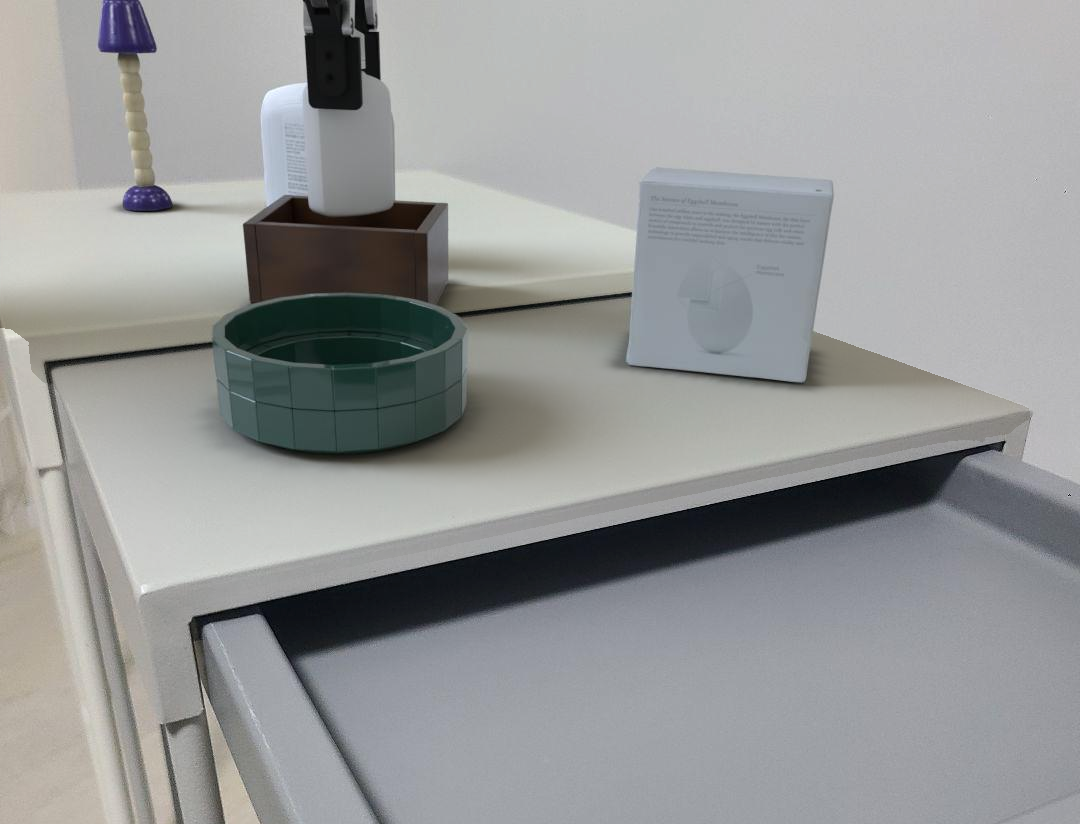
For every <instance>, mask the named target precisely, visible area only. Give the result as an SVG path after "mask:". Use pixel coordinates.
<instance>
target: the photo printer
mask: <svg viewBox="0 0 1080 824" xmlns="http://www.w3.org/2000/svg"><path fill="white" fill-rule="evenodd" d="M306 85H307V82H298V83H291V84H286V85H283V86H279V87H276V88H273V89H271V90H269V91H267V92H266V94H265V95H264V98H263V100H262V103H261V109H260V132H261V146H262V161H263V171H264V172H263V175H264V186H265V187H264V189H265V204H266V207H268V206H269V205H271V204H272V203H273V202H275V201H276V200H278V199H279V198H281V197H282V196H283V195H294V196H295V195H299V196H308V186H307V170H306V155H305V138H304V121H303V91H304V88H305V87H306ZM393 115H394V114H393V112H392V111H391V120H392V151H393V186H394V200H396V149H395V147H396V145H395V144H396V143H395V142H396V141H395V140H396V139H395V122H394V121H395V120H394V116H393ZM266 207H265V208H266Z"/></svg>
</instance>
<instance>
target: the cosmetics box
mask: <svg viewBox="0 0 1080 824" xmlns="http://www.w3.org/2000/svg"><path fill="white" fill-rule="evenodd" d="M638 187H639V188H638V209H637V210H638V212H637V224H636V225H637V226H636V238H635V251H634V265H633V278H632V292H631V305H630V316H629V317H630V319H629V335H628V336H629V338H628V345H627V347H626V348H627V349H626V355H625V356H626V358H625V362H626V363H627V365H629V366H634V367H635V366H636V367H645V368H647V367H649V368H657V369H658V368H659V369H667V370H668V369H670V370H678V371H688V372H698V373H706V374H716V375H726V376H738V377H747V378H756V379H757V378H759V379H765V380H766V379H767V380H775V381H783V382H791V383H804V382H805V381H806V379H807V374H808V373H807V372H808V365H809V358H810V353H811V345H812V340H813V333H814V327H815V320H816V314H817V306H818V301H819V295H820V289H821V282H822V276H823V269H824V262H825V257H826V251H827V250H826V249H827V243H828V235H829V229H830V223H831V216H832V209H833V204H834V198H835V191H834V181H833V180H832V179H823V178H811V177H810V178H809V177H808V178H807V177H794V176H780V175H768V174H767V175H766V174H754V173H753V174H752V173H737V172H726V171H725V172H724V171H711V170H710V171H709V170H697V169H696V170H695V169H683V168H672V167H671V168H670V167H654V168H652V169H651V170H650V171H649V172H648V173H647V174H646V175H645V176H644V177H643V178H642V179H641V180H640V181H639V183H638Z"/></svg>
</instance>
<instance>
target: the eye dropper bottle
mask: <svg viewBox="0 0 1080 824" xmlns="http://www.w3.org/2000/svg"><path fill="white" fill-rule="evenodd" d="M354 37H360V46H361V69H364V68H365V43H364V34H363V33H361V32H359V31H357V30H356V29H355V28H354ZM362 96H363V105H362V107H361V108H360V109H358V110H336V109H315V108H312V107H311V106H310V105H309V101H308V86H307V85H306V87H305V88H304V91H303V121H304V138H305V155H306V170H307V186H308V201H309V207H310V209H311V210H312V211H313V212H315V213H318V214H321V215H324V216H328V217H349V216H361V215H369V214H374V213H379V212H383V211H386V210H389V209H390V208H391V207H392V206H393V203H394V186H393V151H392V120H391V112H392V103H391V92H390V90H389V87H388V86H387V85H386V84H385V82H384V81H382V80H381V81H380V80H379V79H377V78H375V77H372V76H369V75H367V74H365V72H364V71H362Z"/></svg>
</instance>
